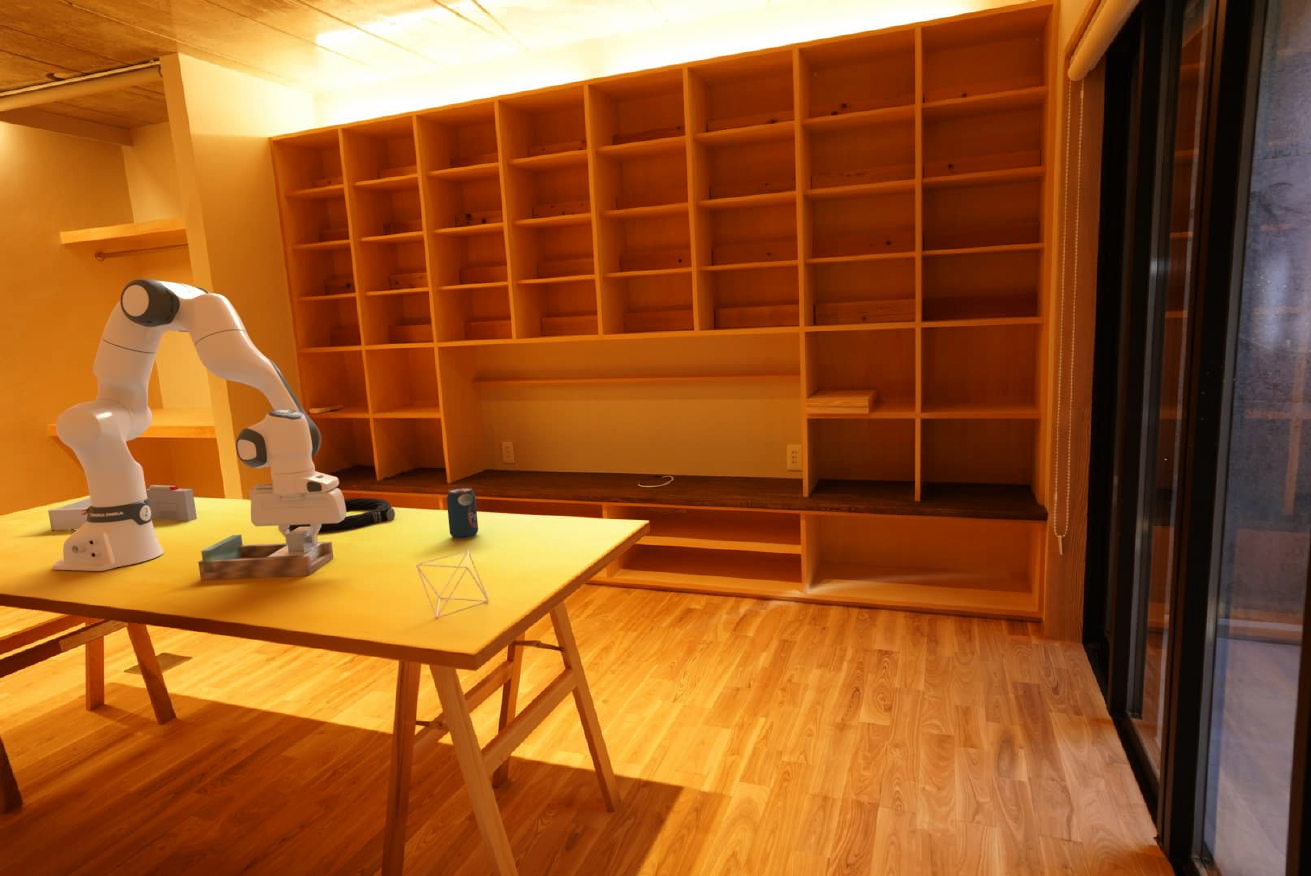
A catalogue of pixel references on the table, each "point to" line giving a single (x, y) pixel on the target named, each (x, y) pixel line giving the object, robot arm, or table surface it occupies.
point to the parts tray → (69, 515)
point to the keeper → (299, 545)
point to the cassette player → (171, 503)
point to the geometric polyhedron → (449, 581)
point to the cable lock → (377, 514)
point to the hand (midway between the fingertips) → (302, 543)
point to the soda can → (462, 513)
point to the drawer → (256, 560)
